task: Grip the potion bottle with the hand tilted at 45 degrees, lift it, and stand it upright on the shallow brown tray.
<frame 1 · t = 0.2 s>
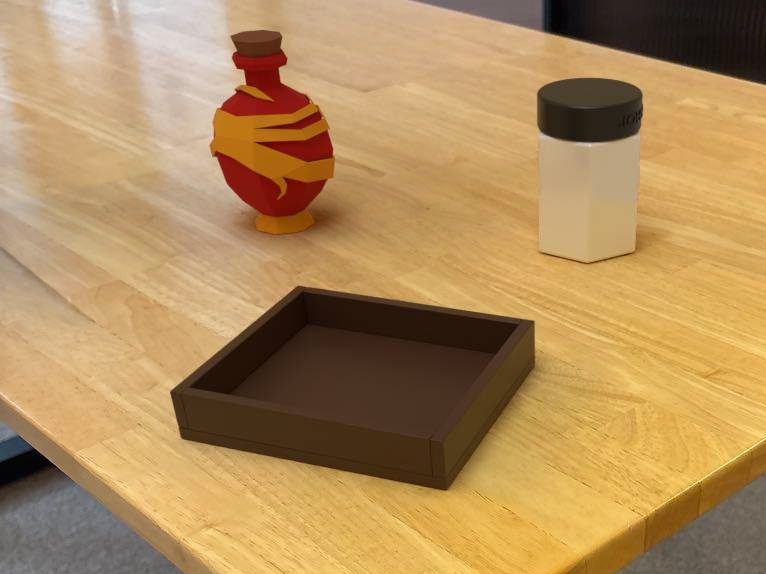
shallow brown tray: (367, 399, 70), on the table
jar: (586, 244, 90), on the table
potion bottle: (285, 225, 94), on the table
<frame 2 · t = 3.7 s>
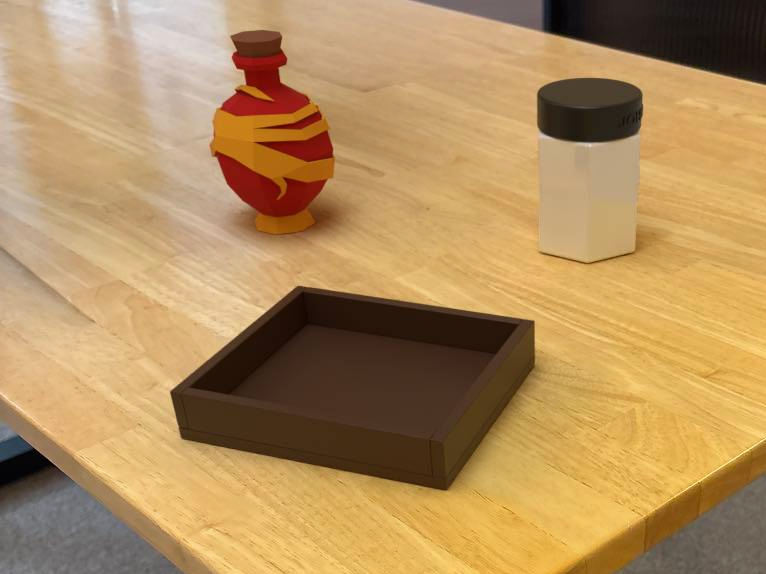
nothing on the table moved.
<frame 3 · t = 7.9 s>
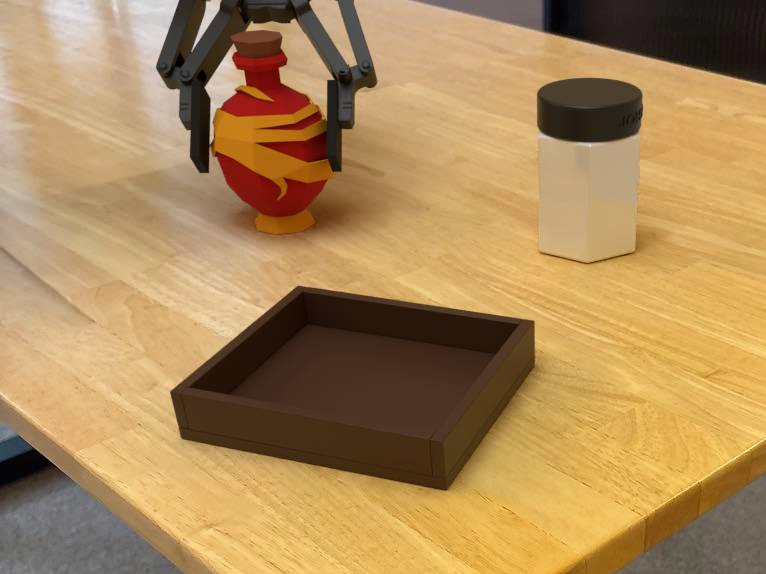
hand: (267, 164, 88), 6 cm above the table, tool tilted 45°, fingers closed on potion bottle, 10 cm apart
potion bottle: (285, 225, 94), on the table, touching gripper
everything else where it was.
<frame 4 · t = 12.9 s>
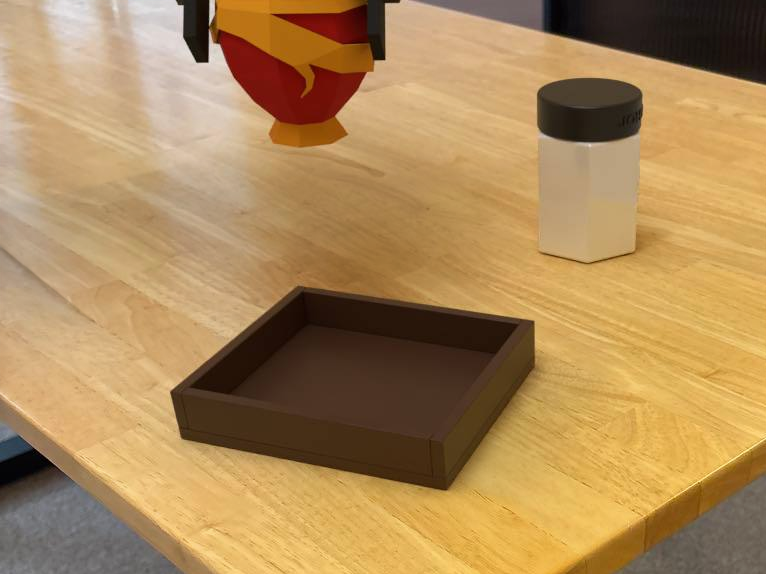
hand: (286, 49, 65), 19 cm above the table, tool tilted 45°, fingers closed on potion bottle, 10 cm apart
potion bottle: (309, 138, 71), point 13 cm above the table, touching gripper
everything else where it was.
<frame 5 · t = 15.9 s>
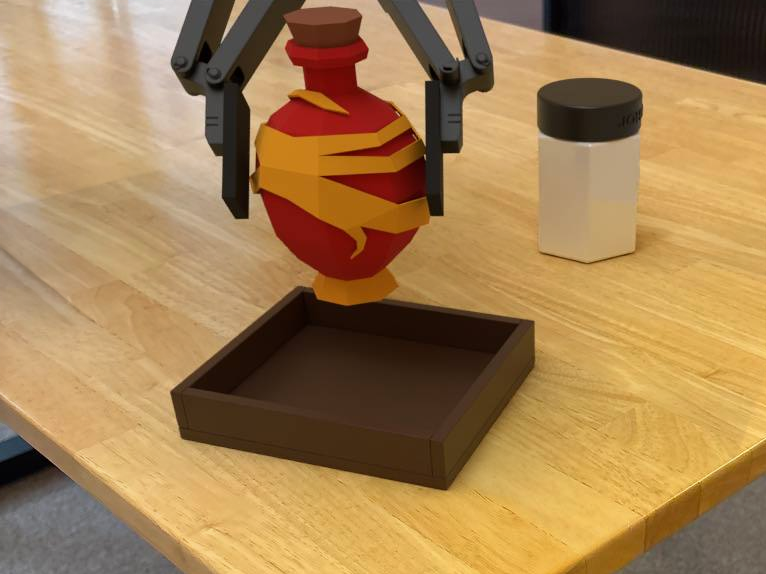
hand: (335, 207, 59), 14 cm above the table, tool tilted 45°, fingers closed on potion bottle, 10 cm apart
potion bottle: (356, 289, 65), point 8 cm above the table, touching gripper
everything else where it was.
when the fingers open (7 cm above the table, at t = 18.4 s): potion bottle stays where it is, resting on shallow brown tray.
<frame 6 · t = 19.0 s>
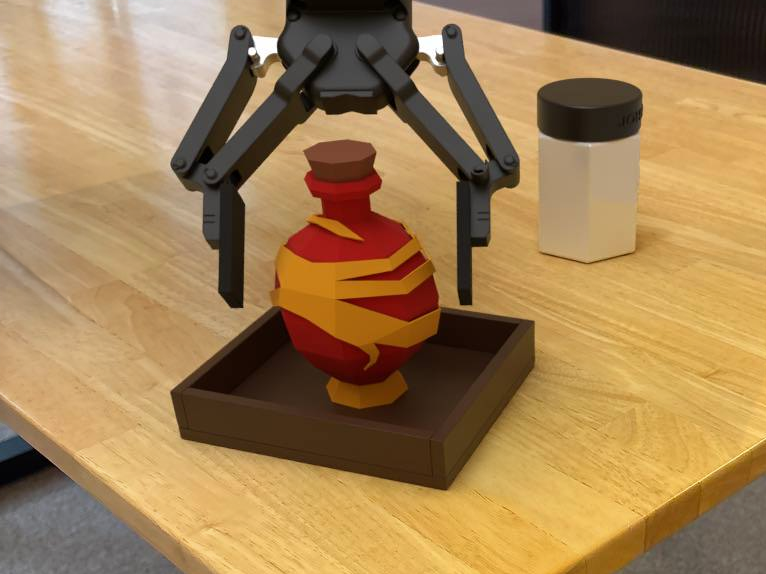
hand: (348, 300, 63), 8 cm above the table, tool tilted 45°, fingers open, 13 cm apart
potion bottle: (368, 391, 69), point 1 cm above the table, touching shallow brown tray
everything else where it was.
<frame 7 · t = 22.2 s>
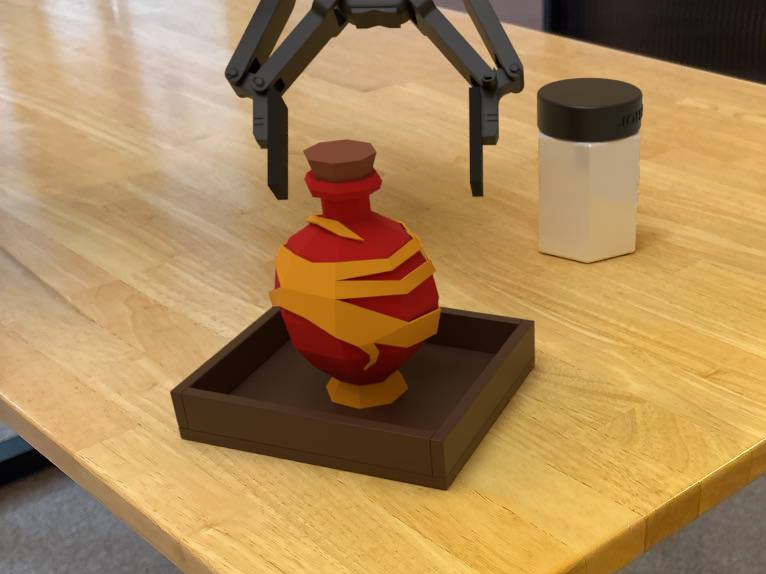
hand: (377, 191, 74), 9 cm above the table, tool tilted 40°, fingers open, 13 cm apart
nothing on the table moved.
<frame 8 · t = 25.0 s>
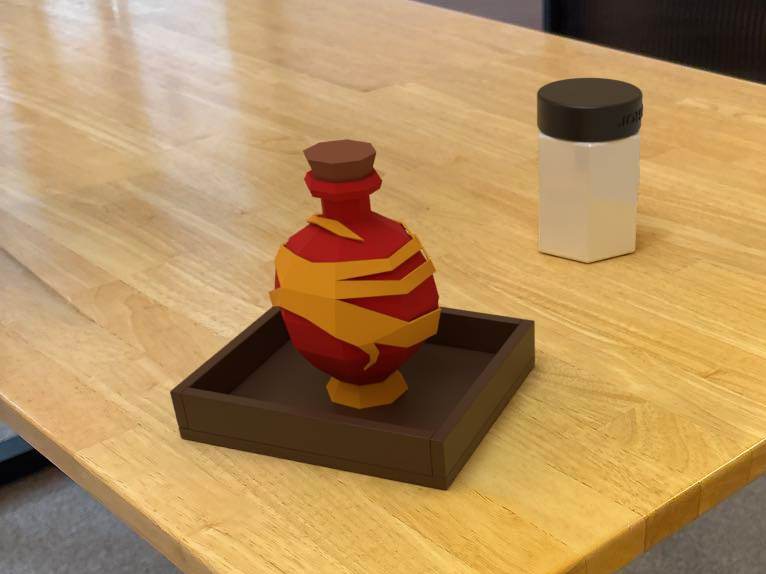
nothing on the table moved.
at the end: potion bottle inside the target area in the shallow brown tray (0.1 cm from its centre), point 0.6 cm above the shallow brown tray's base; potion bottle tilted 0°; the gripper is holding nothing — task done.
